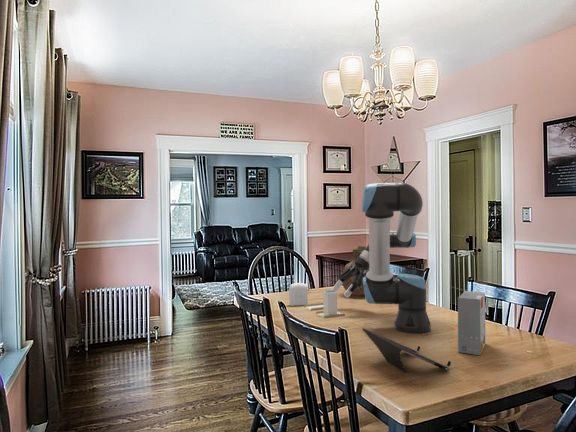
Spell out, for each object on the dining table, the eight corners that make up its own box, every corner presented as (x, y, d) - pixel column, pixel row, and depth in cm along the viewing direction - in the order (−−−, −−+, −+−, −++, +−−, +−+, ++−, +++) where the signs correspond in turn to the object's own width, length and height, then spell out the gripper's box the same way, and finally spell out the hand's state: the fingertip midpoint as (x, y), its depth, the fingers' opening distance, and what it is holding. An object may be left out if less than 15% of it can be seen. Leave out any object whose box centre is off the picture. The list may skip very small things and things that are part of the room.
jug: (351, 290, 263) (350, 244, 263) (382, 293, 251) (381, 245, 250) (335, 296, 246) (334, 247, 245) (368, 300, 233) (366, 248, 233)
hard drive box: (481, 356, 142) (480, 299, 142) (457, 352, 146) (456, 297, 146) (486, 343, 155) (485, 291, 155) (464, 340, 160) (463, 290, 159)
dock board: (346, 317, 197) (346, 313, 197) (323, 320, 193) (323, 316, 193) (323, 306, 221) (323, 302, 221) (303, 308, 217) (303, 304, 217)
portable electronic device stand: (449, 393, 128) (459, 365, 129) (392, 370, 121) (403, 341, 122) (405, 367, 150) (413, 343, 151) (354, 347, 143) (364, 322, 144)
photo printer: (307, 303, 229) (306, 281, 229) (308, 305, 225) (308, 283, 224) (289, 304, 227) (288, 282, 227) (290, 306, 223) (289, 284, 223)
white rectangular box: (337, 314, 198) (336, 290, 198) (328, 316, 196) (327, 291, 196) (332, 312, 203) (332, 288, 203) (323, 313, 201) (323, 289, 201)
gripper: (382, 269, 197) (356, 303, 192) (357, 263, 220) (333, 293, 216) (372, 259, 195) (346, 293, 190) (348, 254, 219) (324, 284, 214)
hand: (339, 293), depth 203 cm, fingers open, 13 cm apart
